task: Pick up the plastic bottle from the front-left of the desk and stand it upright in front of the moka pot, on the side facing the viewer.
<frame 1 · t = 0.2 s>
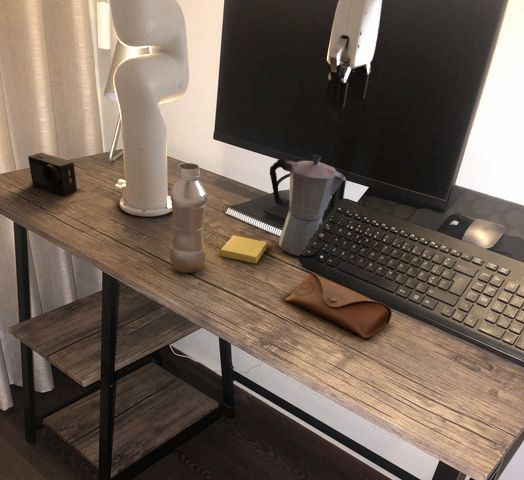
hand: (345, 102, 96), 31 cm above the table, tool pointing down, fingers open, 9 cm apart
sticky note pad: (244, 252, 115), on the table
digital camera: (52, 189, 134), on the table
sunglasses case: (335, 313, 100), on the table
moka pot: (297, 248, 119), on the table
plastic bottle: (187, 269, 108), on the table
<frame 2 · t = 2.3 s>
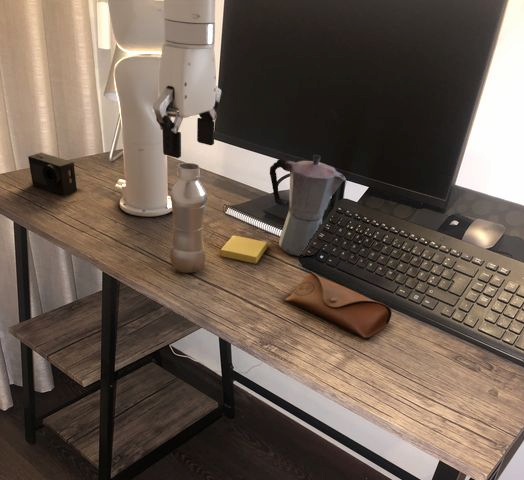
hand: (189, 149, 94), 23 cm above the table, tool pointing down, fingers open, 9 cm apart
nothing on the table moved.
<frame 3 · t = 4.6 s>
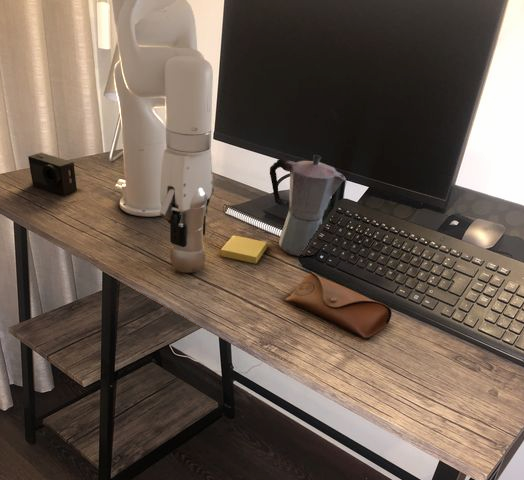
hand: (188, 238, 104), 6 cm above the table, tool pointing down, fingers closed on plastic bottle, 5 cm apart
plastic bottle: (187, 269, 108), on the table, touching gripper
everything else where it was.
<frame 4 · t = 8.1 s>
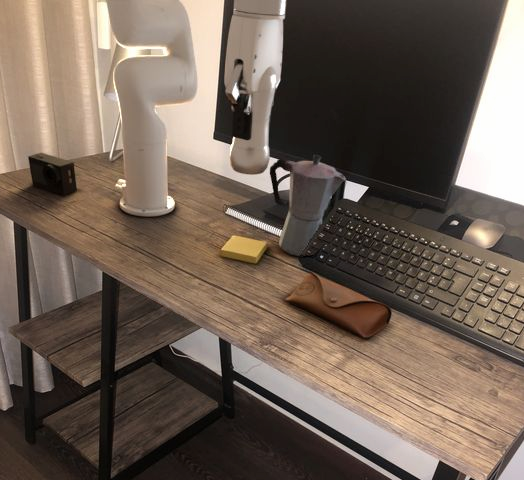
hand: (251, 133, 90), 27 cm above the table, tool pointing down, fingers closed on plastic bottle, 5 cm apart
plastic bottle: (248, 173, 94), point 20 cm above the table, touching gripper
everything else where it was.
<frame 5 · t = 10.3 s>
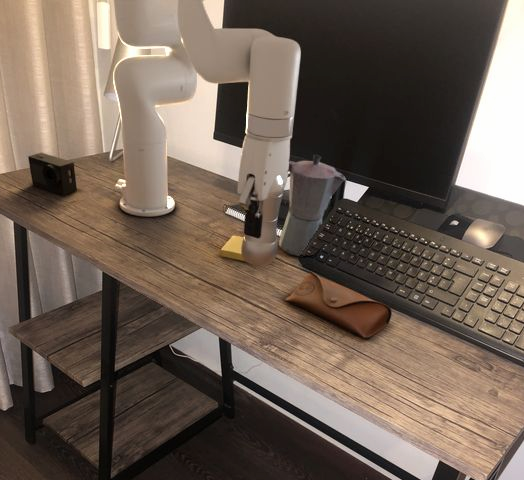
hand: (260, 229, 100), 11 cm above the table, tool pointing down, fingers closed on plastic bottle, 5 cm apart
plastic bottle: (258, 262, 104), point 4 cm above the table, touching gripper
everything else where it was.
when the fingers open (6 cm above the table, at t = 11.9 s): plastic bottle stays where it is, on the table.
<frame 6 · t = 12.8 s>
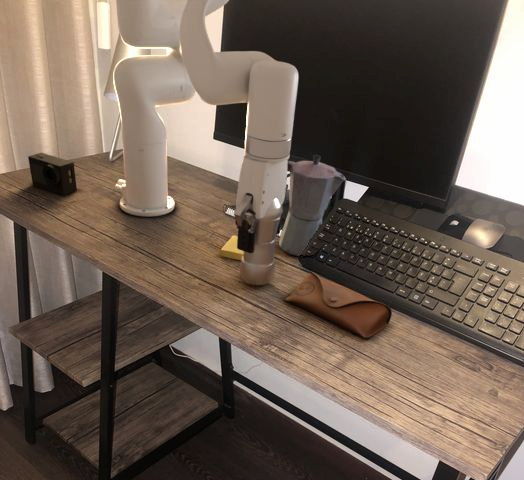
hand: (258, 241, 101), 8 cm above the table, tool pointing down, fingers open, 9 cm apart
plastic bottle: (256, 282, 106), on the table
everything else where it was.
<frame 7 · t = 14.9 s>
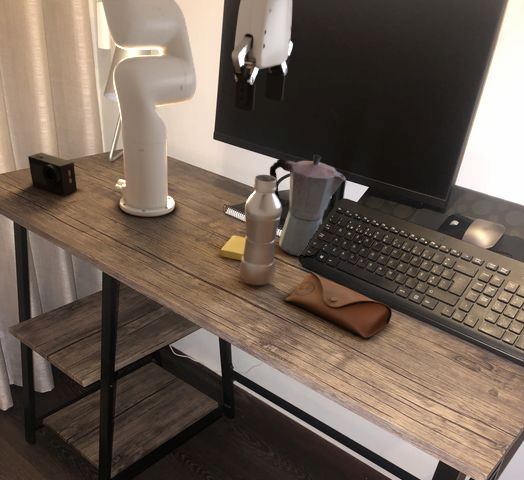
hand: (259, 104, 91), 31 cm above the table, tool pointing down, fingers open, 9 cm apart
nothing on the table moved.
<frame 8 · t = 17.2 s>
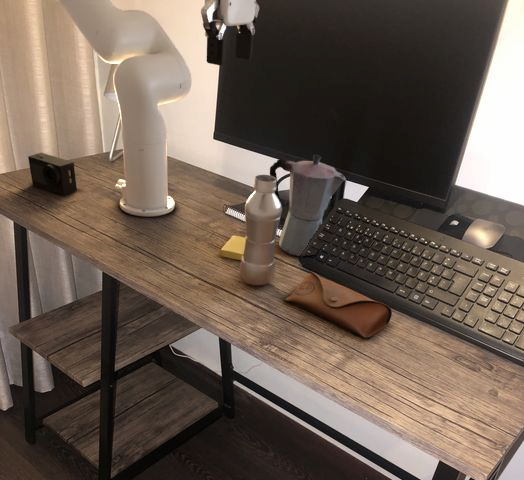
hand: (229, 61, 101), 34 cm above the table, tool pointing down, fingers open, 9 cm apart
nothing on the table moved.
at the end: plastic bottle inside the target area on the table beside the moka pot (0.5 cm from its centre), on the table; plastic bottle tilted 0°; moka pot moved 0.2 cm from its start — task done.
